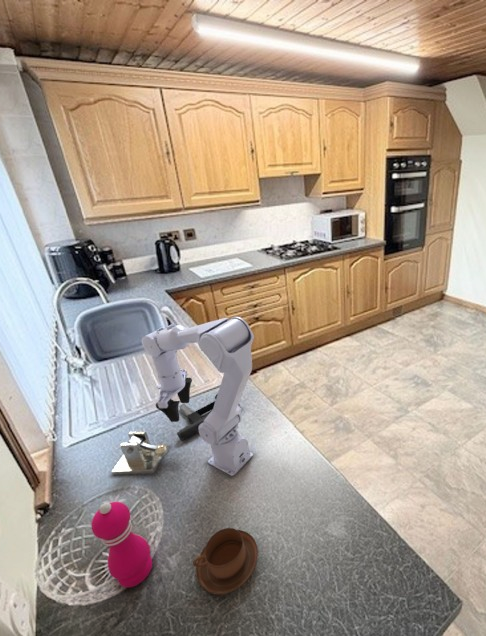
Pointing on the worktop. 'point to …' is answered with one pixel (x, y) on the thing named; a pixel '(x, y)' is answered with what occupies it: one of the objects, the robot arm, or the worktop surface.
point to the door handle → (194, 419)
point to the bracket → (137, 457)
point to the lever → (150, 446)
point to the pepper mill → (122, 544)
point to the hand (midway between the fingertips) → (180, 411)
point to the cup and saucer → (226, 561)
